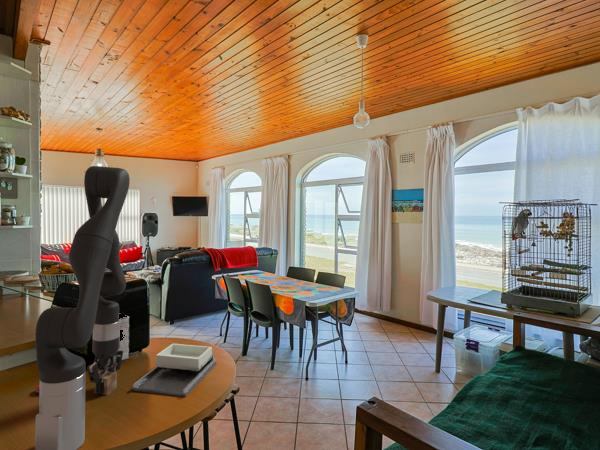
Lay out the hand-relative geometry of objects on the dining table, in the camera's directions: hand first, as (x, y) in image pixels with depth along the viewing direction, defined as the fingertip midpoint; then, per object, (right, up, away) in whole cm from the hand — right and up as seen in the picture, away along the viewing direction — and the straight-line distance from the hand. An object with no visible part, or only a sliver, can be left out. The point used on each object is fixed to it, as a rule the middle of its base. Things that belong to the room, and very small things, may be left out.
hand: (105, 389), depth 115 cm
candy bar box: (-10, +1, +26) cm, 28 cm away
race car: (-16, 0, +2) cm, 16 cm away
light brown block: (0, 0, 0) cm, 0 cm away
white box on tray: (+20, +1, +16) cm, 26 cm away
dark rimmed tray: (+19, -1, +11) cm, 22 cm away
